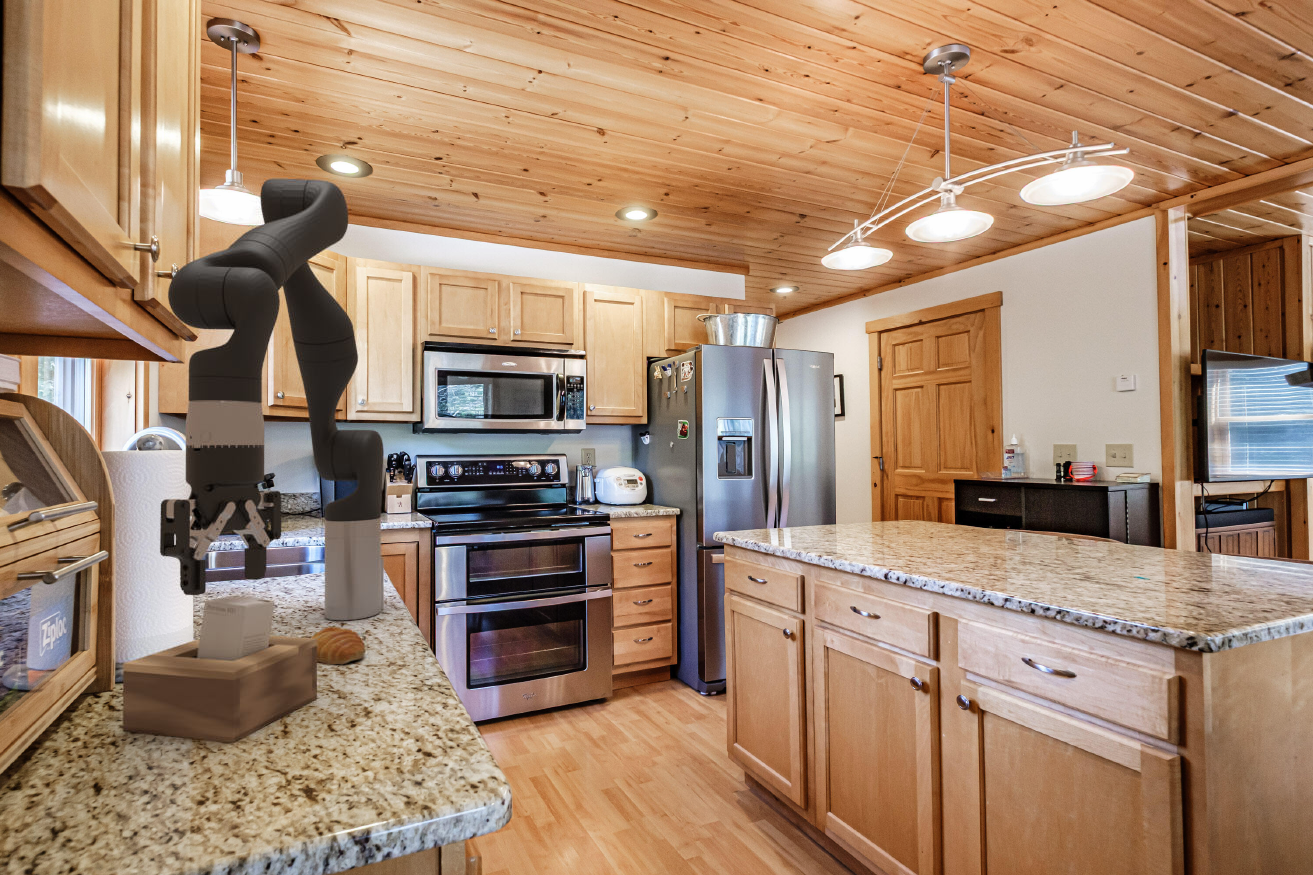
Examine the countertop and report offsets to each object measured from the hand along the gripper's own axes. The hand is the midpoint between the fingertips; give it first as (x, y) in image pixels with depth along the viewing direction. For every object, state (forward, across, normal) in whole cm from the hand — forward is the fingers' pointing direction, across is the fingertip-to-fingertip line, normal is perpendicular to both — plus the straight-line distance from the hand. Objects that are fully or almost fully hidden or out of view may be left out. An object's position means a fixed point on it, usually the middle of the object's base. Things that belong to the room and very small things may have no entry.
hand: (225, 586), depth 75 cm
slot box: (+14, 0, 0) cm, 14 cm away
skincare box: (+14, 0, 0) cm, 14 cm away
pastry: (+15, -21, -2) cm, 26 cm away
